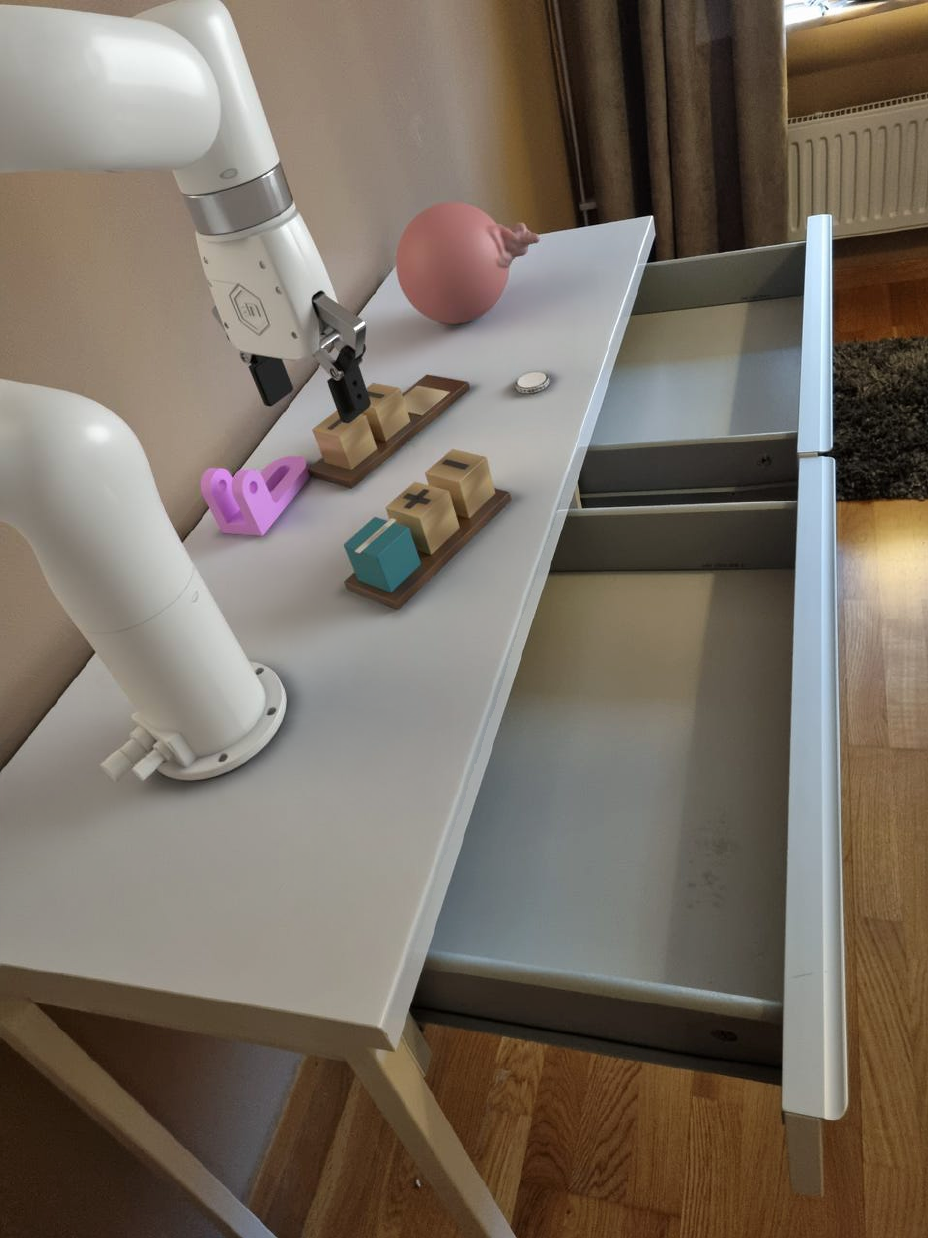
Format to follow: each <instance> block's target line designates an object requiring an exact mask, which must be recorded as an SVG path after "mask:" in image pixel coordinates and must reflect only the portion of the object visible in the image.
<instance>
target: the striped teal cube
mask: <svg viewBox="0 0 928 1238" xmlns="http://www.w3.org/2000/svg"><path fill="white" fill-rule="evenodd" d="M395 521H396V519H393V518H391V519H389V520H386V519H383V518H380V517H376V516H374V517H373V518H371V519H370V521H368V522H367V523H366V524H365V525H364V526H363V527H362V528H360V529H359V530H358V531H357V532H355V534H353V535H352V536H351V537H350V538H349V539H347V541H345V542H344V544H343V547H344V550H345V552H346V554H347V557H348V560H349V562H350V564H351V567H352V569H353V573H354V572H355V574H356V577H357V579H358V581H361V582H364V583H366V584H369V585H371V586H374V587H376V588H379V589H382V590H384V591H387V592H389V593H392V592H393V591H394V590H395V589H396V588H397V587H398V586H399V585H400V584H401V583H402V582H403V581H404V580H405V579H406V578H407V577H408V576H409V575H410V574H412V573H413V572H414V571H415V570H416V569H417V568H418V567H419V566H420V565H421V563H420V560H419V557H418V554H417V551H416V548H415V545H414V542H413V539H412V536H411V533H410V530H409V528H408V527H405V526H401V525H398V524H395V523H394V522H395Z"/></svg>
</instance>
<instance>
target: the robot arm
mask: <svg viewBox="0 0 928 1238" xmlns="http://www.w3.org/2000/svg"><path fill="white" fill-rule="evenodd" d="M58 171H60V172H61V171H69V172H73V173H78V174H89V175H93V174H94V175H97V174H98V175H99V174H122V173H132V172H134V173H135V172H172V174H173V176H174V179H175V182H176V184H177V187H178V188H179V191H180V192H181V196H182V198H183V201H184V203H185V205H186V208H187V210H188V213H189V215H190V217H191V220H192V223H193V225H194V227H195V231H194V234H195V239H196V246H197V249H198V253H199V257H200V261H201V265H202V269H203V272H204V275H205V279H206V281H207V285H208V287H209V290H210V293H211V296H212V299H213V301H214V305H215V306H213V307H212V309H211V313H212V315H213V317H214V318H215V319H216V321H217V322H218V323H219V325H220V326H221V327H222V329H223V331H225V333H226V338H227V340H228V341H229V342H230V344H231V345H232V346H233V347H234V348H235V349H237V350H238V351H239V358H240V360H241V361H242V362H243V363H244V364H245V365H247V366H248V365H249V366H248V369H249V372H250V374H251V377H252V379H253V381H254V383H255V386H256V388H257V391H258V393H259V396H260V398H261V401H262V403H263V404H264V406H266V407H273V406H275V405H276V404H278V402H280V401H281V400H283V399H284V398H286V397H287V396H288V395H289V394H291V393H292V392H293V391H294V387H293V384H292V381H291V378H290V376H289V373H288V371H287V368H286V366H285V363H284V360H285V361H291V362H300V363H301V362H307V361H309V360H311V359H312V358H314V359H315V361H317V363H318V364H319V365H320V366H321V367H322V369H324V371H325V372H326V373H327V374H328V375H329V376H330V378H328V379H327V380H326V382H327V386H328V388H329V389H328V390H329V391H330V394H331V397H332V400H333V403H334V405H335V408H336V411H338V414H339V417H340V419H341V421H342V422H343V423H350V422H352V421H353V420H354V419H355V418H357V417H358V416H359V415H360V414H362V413H363V412H364V411H365V410H367V409H368V408H369V407H370V405H371V401H370V398H369V395H368V392H367V389H366V388H367V387H366V384H365V380H364V377H363V374H362V371H361V368H360V365H362V364H363V357H364V354H365V353H366V351H367V346H366V335H367V325H366V322H365V320H363V318H361V317H359V316H358V315H356V314H354V312H352V311H350V310H349V309H347V308H346V307H344V306H343V305H341V304H340V303H339V302H338V299H337V296H336V292H335V290H334V287H333V284H332V282H331V278H330V277H329V274H328V271H327V268H326V266H325V264H324V261H323V259H322V257H321V255H320V252H319V250H318V248H317V246H316V244H315V242H314V239H313V237H312V235H311V233H310V231H309V229H308V227H307V225H306V223H305V221H304V219H303V217H302V215H301V213H300V212H299V211H298V210H296V209H297V207H296V204H295V200H294V197H293V194H292V191H291V188H290V185H289V183H288V179H287V177H286V173H285V171H284V168H283V165H282V162H281V159H280V156H279V152H278V150H277V147H276V143H275V141H274V138H273V135H272V132H271V129H270V126H269V122H268V120H267V117H266V114H265V111H264V108H263V105H262V101H261V99H260V96H259V92H258V91H257V88H256V84H255V81H254V78H253V75H252V73H251V70H250V67H249V63H248V60H247V58H246V54H245V52H244V49H243V46H242V43H241V40H240V37H239V34H238V31H237V29H236V25H235V23H234V20H233V18H232V15H231V14H230V12H229V9H228V8H227V7H226V5H225V4H224V3H223V2H222V1H221V0H173V1H170V2H167V3H163V4H161V5H158V6H154V7H152V8H149V9H146V10H144V11H142V12H139V13H137V14H135V15H134V16H132V17H127V16H121V15H120V16H119V15H113V14H105V13H96V12H91V11H90V12H88V11H82V10H81V11H80V10H73V9H66V8H65V9H64V8H55V7H44V6H33V5H32V6H31V5H20V4H19V5H18V4H1V3H0V174H1V175H2V174H13V173H29V172H58ZM320 338H321V339H320ZM332 346H333V347H334V348H335V349H336V350H337V351H338V354H337V358H334V357H333V356H332V355H331V354H330V353H329V351H327V349H329V348H330V347H332ZM0 522H3V523H5V524H6V525H8V526H11V528H13V529H14V530H16V531H17V532H18V533H19V534H20V535H21V536H22V537H23V538H24V539H25V541H26V542H27V543H28V544H29V546H30V547H31V550H32V551H33V553H34V555H35V557H36V560H37V562H38V564H39V567H40V570H41V572H42V574H43V576H44V578H45V580H46V583H47V584H48V586H49V588H50V591H51V592H52V594H53V595H54V597H55V598H56V600H57V601H58V602H59V605H61V607H62V609H63V610H64V612H65V613H66V614H67V616H68V617H69V618H70V620H71V621H72V622H73V624H74V625H75V626H76V627H77V629H78V631H80V633H81V634H82V636H83V637H84V638H85V639H86V641H87V642H88V645H90V647H91V648H92V649H93V651H94V653H96V655H97V656H98V658H99V659H100V660H101V662H102V663H103V665H104V666H105V668H106V669H107V670H108V671H109V673H110V674H111V675H112V677H113V679H114V680H115V682H117V684H118V686H119V687H120V688H121V689H122V691H123V692H124V694H125V695H126V697H127V698H128V699H129V700H130V703H132V705H133V706H134V708H135V709H136V710H135V712H134V713H132V714H131V716H130V719H131V720H132V722H133V723H134V724H135V726H136V727H135V728H134V730H132V731H131V732H130V733H129V734H128V737H129V738H130V739H129V740H128V741H127V742H125V743H124V744H123V745H122V746H121V747H120V748H118V749H116V750H115V751H113V753H111V754H110V755H109V756H108V757H107V758H105V760H103V762H101V763H100V764H99V766H100V767H101V769H102V770H103V771H104V772H105V773H106V774H107V775H108V776H109V777H110V778H111V779H112V780H113V781H114V782H119V781H120V780H121V779H122V778H123V777H125V775H126V774H127V773H128V772H130V771H132V773H133V774H134V775H135V776H136V777H137V778H139V780H141V781H143V782H144V781H145V780H146V779H147V778H148V777H149V776H150V775H152V774H153V773H154V772H155V771H156V770H157V771H158V773H160V774H162V775H164V776H166V777H168V778H171V779H175V780H178V781H199V780H206V779H209V778H214V777H217V776H220V775H223V774H225V773H228V772H230V771H232V770H234V769H236V768H238V767H240V766H241V765H243V764H245V763H247V762H248V761H249V760H251V758H253V757H254V756H256V755H257V754H259V752H260V751H261V750H262V749H263V748H264V747H266V746H267V744H268V743H269V742H270V741H271V740H272V738H273V737H274V736H275V734H276V733H277V731H278V730H279V728H280V726H281V724H282V723H283V720H284V717H285V715H286V711H287V701H288V700H287V699H288V698H287V693H286V690H285V687H284V685H283V683H282V681H281V679H280V677H279V676H278V675H277V674H276V672H275V671H274V670H272V668H270V667H268V666H266V665H264V664H262V663H260V662H256V661H250V660H249V659H248V657H247V656H246V654H245V652H244V651H243V649H242V647H241V644H240V643H239V641H238V640H237V638H236V636H235V634H234V632H233V631H232V629H231V628H230V626H229V624H228V622H227V620H226V618H225V617H224V615H223V613H222V611H221V609H220V608H219V606H218V604H217V603H216V601H215V599H214V597H213V595H212V593H211V592H210V589H209V588H208V586H207V584H206V583H205V581H204V579H203V577H202V575H201V574H200V572H199V570H198V568H197V567H196V565H195V563H194V561H193V560H192V558H191V557H190V555H189V553H188V551H187V549H186V548H185V546H184V544H183V542H182V541H181V539H180V538H181V537H179V535H178V533H177V531H176V530H175V527H174V525H173V523H172V521H171V519H170V516H169V515H168V513H167V510H166V509H165V506H164V504H163V502H162V499H161V496H160V494H159V490H158V487H157V484H156V481H155V478H154V475H153V471H152V469H151V466H150V463H149V460H148V456H147V454H146V452H145V450H144V448H143V446H142V444H141V442H140V440H139V438H138V437H137V435H136V434H135V432H134V431H133V430H132V429H131V428H130V426H129V425H128V424H127V423H126V422H125V420H124V419H122V418H121V417H120V416H119V415H118V414H116V413H115V412H114V411H112V410H111V409H109V408H108V407H106V406H104V405H103V404H101V403H99V402H98V401H95V400H94V399H91V398H88V397H86V396H84V395H81V394H79V393H75V392H71V391H68V390H63V389H59V388H55V387H54V388H53V387H48V386H43V385H40V384H39V385H38V384H34V383H25V382H19V381H14V380H10V379H5V378H0ZM144 756H145V757H144Z"/></svg>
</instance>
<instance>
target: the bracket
mask: <svg viewBox="0 0 928 1238" xmlns="http://www.w3.org/2000/svg"><path fill="white" fill-rule="evenodd" d="M308 468H309V464H308V463H307V460H306V459H305V458H304V457H302V456H299V455H289V456H284V457H281V458H278V459H276V460H274V461H272V462H270V463H269V464H267V465H266V466H265V467H264V468H263V469H262V470H261V472H260V471H258V470H256V469H248V468H247V469H246V468H243V469H242V468H241V469H239V470H237V471H236V472H235V474H234V475H232V474H231V472H230V471H229V470H228V469H225V468H219V467H217V468H216V467H215V468H214V467H210V468H207V469H206V470H205V471H204V472H203V473H202V476H201V479H200V492H201V494H202V496H203V499H204V501H205V502H206V504H207V506H208V508H209V510H210V512H211V514H212V517H213V518H214V520H215V522H216V524H217V526H218V528H219V530H220V532H221V533H222V534H231V535H243V536H244V535H245V536H256V537H257V536H258V537H263V536H264V535H265V534H266V533H267V532H268V530H269V529H270V528H271V526H272V525H273V524H274V523H275V521H276V520H277V519H278V518H279V516H281V514H282V513H283V512H284V510H285V509H286V508H287V506H288V505H289V504H291V501H292V500H293V499H294V498H295V497H296V495H297V494H298V493H299V491H300V490H301V489H302V488H303V487H304V486H305V484H306V483H307V482H308V480H309V479H310V477H311V476H310V474H309V472H308Z"/></svg>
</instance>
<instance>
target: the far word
mask: <svg viewBox="0 0 928 1238" xmlns="http://www.w3.org/2000/svg"><path fill="white" fill-rule="evenodd" d="M366 389H367V392H368V395H369V398H370V401H371V405H370V407H369V408H368V409H367V410H365V411H364V412H363V413H362V414H360V415H359V416H358V417H357V418H355V419H354V420H353V421H352V422H350V423H343V422H342V421H341V419H340V417H339V414H338V411H337V410H336V411H334V412H333V413H331V414H330V415H329V416H327V418H325V419H323V420H322V421H321V422H320V423H318V424H317V425H316V426H314V427H313V428H312V429H311V431H312V434H313V436H314V438H315V442H316V443H317V447H318V449H319V452H320V454H321V456H322V457H321V458H319V459H318V460H317V461H316V462H315V463H313V464H312V465H310V467H309V466H308V472H309V474H310V477H313V478H316V479H319V480H323V481H325V482H329V483H332V484H335V485H339V486H342V487H345V488H349V489H353V488H354V487H355V486H356V485H357V484H359V483H360V482H361V481H362V480H363V479H365V478H366V477H367V476H368V475H370V473H372V472H373V471H374V470H375V469H377V468H378V467H379V466H380V465H381V464H383V463H384V462H385V461H387V459H388V458H390V457H391V456H392V455H393V454H395V453H396V452H397V451H398V450H399V449H400V448H402V447H403V446H404V445H406V443H408V442H409V441H410V440H411V439H412V438H413V437H415V436H417V434H418V433H420V432H421V431H422V430H423V429H424V428H425V427H427V426H428V425H429V424H430V423H431V422H433V421H434V420H435V419H436V418H437V417H439V416H440V415H441V414H442V413H443V412H444V411H446V410H447V409H448V408H449V407H451V406H452V405H453V404H454V403H455V402H457V401H458V400H459V399H460V398H461V397H462V396H464V395H465V394H466V393H468V391H470V390H471V387H470V383H469V381H467V380H466V381H465V380H459V379H454V378H449V377H443V376H438V375H433V374H425V375H424V376H423V377H422V378H420V379H419V380H417V382H415V383H414V384H412V385H411V386H410V387H409V388H407V389H406V390H405V391H404V392H402V390H401V388H400V387H396V386H391V385H386V384H381V383H376V382H372V383H370V384H369V385H368V386H367V387H366Z"/></svg>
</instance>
